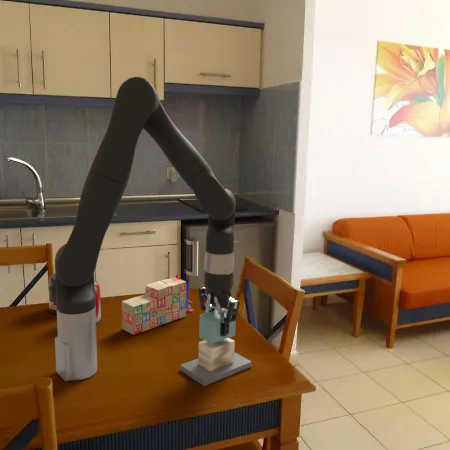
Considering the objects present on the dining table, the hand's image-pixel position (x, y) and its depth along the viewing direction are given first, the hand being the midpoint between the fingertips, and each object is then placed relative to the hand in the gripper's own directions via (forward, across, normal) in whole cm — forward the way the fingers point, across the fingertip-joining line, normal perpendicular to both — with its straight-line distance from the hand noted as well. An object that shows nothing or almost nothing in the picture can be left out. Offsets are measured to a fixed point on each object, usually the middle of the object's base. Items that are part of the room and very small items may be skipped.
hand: (217, 331), depth 123 cm
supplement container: (+11, -62, -15) cm, 65 cm away
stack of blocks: (+10, -35, +3) cm, 36 cm away
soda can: (+11, -48, -13) cm, 51 cm away
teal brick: (+1, 0, 0) cm, 1 cm away
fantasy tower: (+11, -42, +17) cm, 46 cm away
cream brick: (+9, 0, 0) cm, 9 cm away
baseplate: (+10, 0, 0) cm, 10 cm away
